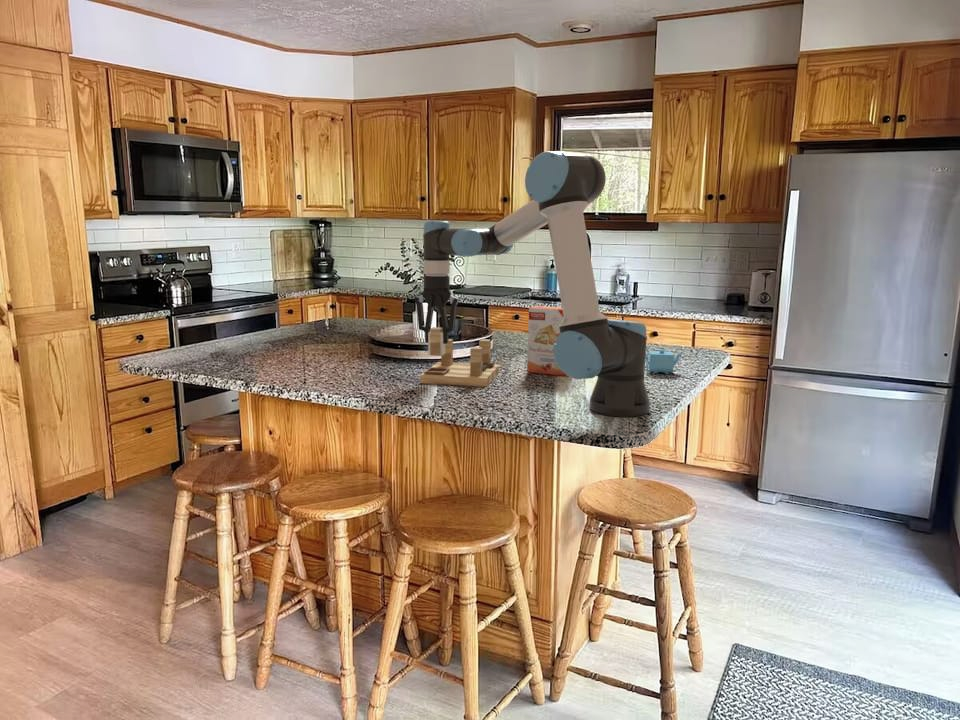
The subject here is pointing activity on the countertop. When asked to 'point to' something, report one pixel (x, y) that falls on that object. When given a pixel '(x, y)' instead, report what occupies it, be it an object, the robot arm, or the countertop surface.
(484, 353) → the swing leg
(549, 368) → the cracker box
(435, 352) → the loose leg
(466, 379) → the seat
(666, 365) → the teapot
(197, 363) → the countertop surface
